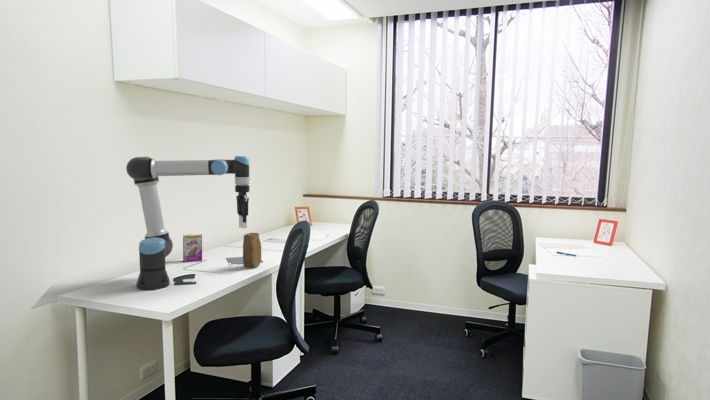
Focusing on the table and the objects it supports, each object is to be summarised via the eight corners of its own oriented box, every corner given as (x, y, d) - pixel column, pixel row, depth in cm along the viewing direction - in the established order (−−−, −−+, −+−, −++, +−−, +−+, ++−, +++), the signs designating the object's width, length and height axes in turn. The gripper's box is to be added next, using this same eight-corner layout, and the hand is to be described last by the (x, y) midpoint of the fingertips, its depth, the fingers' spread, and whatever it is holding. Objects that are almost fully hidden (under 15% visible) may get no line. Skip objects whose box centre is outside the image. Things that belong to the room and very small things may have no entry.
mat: (230, 265, 261) (230, 264, 261) (226, 258, 278) (226, 257, 278) (263, 262, 269) (263, 261, 269) (257, 256, 286) (257, 255, 286)
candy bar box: (183, 262, 266) (182, 235, 265) (183, 260, 271) (182, 234, 269) (202, 260, 271) (202, 234, 269) (202, 259, 275) (201, 233, 273)
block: (252, 269, 252) (251, 235, 250) (241, 267, 255) (241, 234, 253) (263, 265, 262) (263, 232, 260) (253, 263, 265) (252, 231, 263)
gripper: (254, 185, 230) (254, 229, 233) (244, 183, 244) (244, 225, 246) (240, 185, 226) (241, 230, 228) (230, 183, 240) (231, 226, 242)
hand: (242, 227), depth 237 cm, fingers open, 3 cm apart
